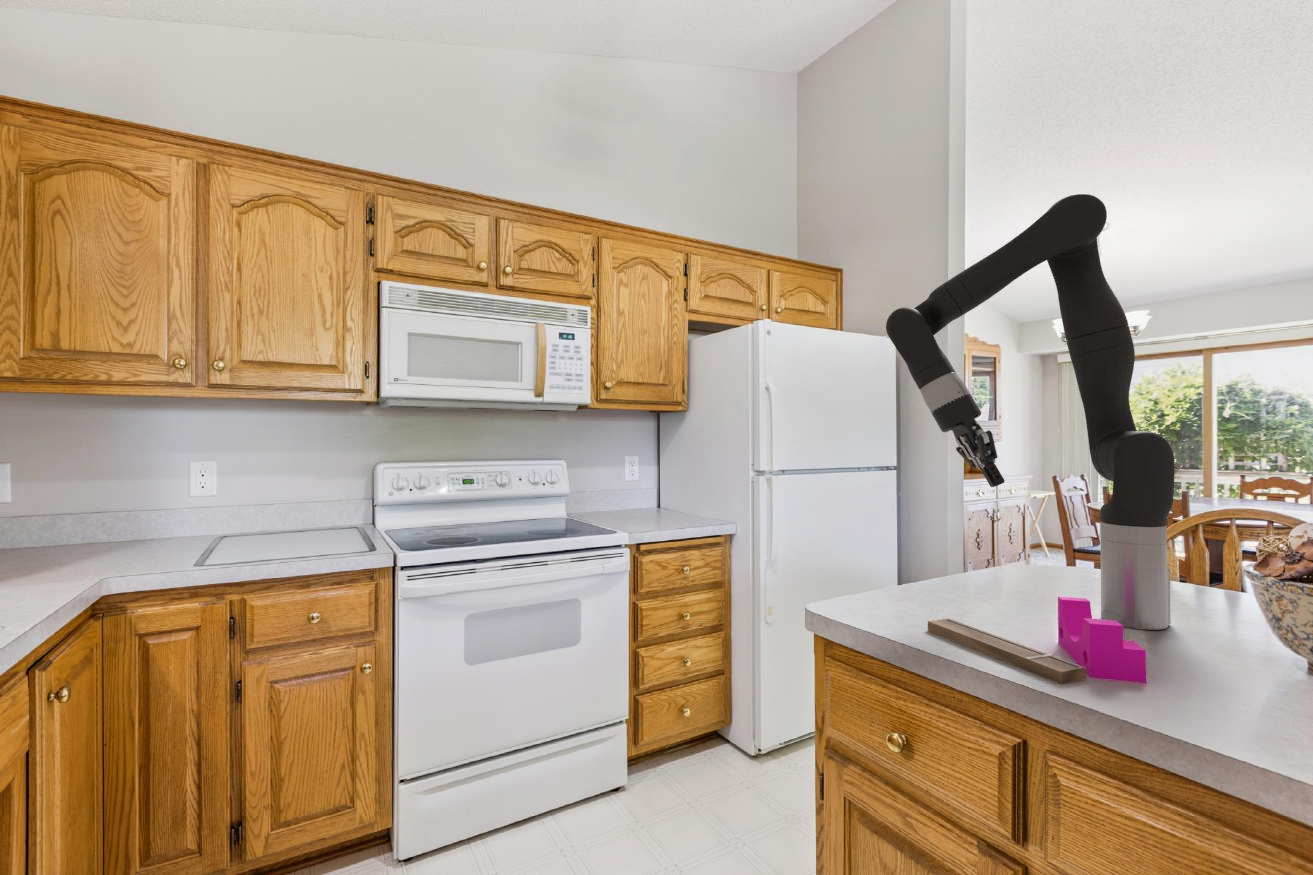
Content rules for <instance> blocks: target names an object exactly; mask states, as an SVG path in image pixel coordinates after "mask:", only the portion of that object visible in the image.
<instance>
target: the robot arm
mask: <svg viewBox="0 0 1313 875" xmlns="http://www.w3.org/2000/svg"><path fill="white" fill-rule="evenodd" d="M1107 211H1108V210H1107V207H1106V205H1105V203H1104V202H1103V201H1102V200H1101V199H1100V198H1099V197H1097V196H1096V195H1092V194H1089V193H1075V194H1070V195H1067V196H1065V197H1062V198H1061V199H1059V200H1057V201H1056V202H1055V203H1054V204H1052V205H1051V207H1049V209H1048V210H1047V211H1046V212H1045V213H1043V214H1042V215H1041V216H1040V217H1039V218H1037V220H1036V221H1035V222H1033V223H1032V224H1031V225H1030V226H1028V227H1027V228H1026V229H1025V230H1023V231H1022V232H1021V233H1019V234H1018V235H1017V236H1015V237H1014V238H1013V239H1011V240H1010V241H1008V242H1007V243H1005V244H1004V245H1003V246H1001V247H999V248H997V250H995V251H993V252H992V253H990V254H989V255H987V256H985V257H984V258H982V259H980V260H979V261H977V262H976V263H973V264H972V265H970V266H969V267H967V268H966V269H964V270H963V271H961V272H960V273H957V274H956V275H955V276H953V277H951V278H950V279H948V280H947V281H945V282H944V283H943V284H942V285H939V286H938V287H936V288H935V289H933V290H932V291H931V293H930V294H929V296H928V297H927V299H925V300H924V301H922V302H921V303H920V304H918V305H917V306H915V307H908V306H907V307H906V306H904V307H900V308H897V309H895V310H894V311H892V313H890V315H889V316H888V318H887V319H886V320H887V321H886V322H885V323H886V324H885V330H886V335H887V336H888V339H889V340H890V341H891V343H892V344H893V346H894V348H896V350H897V352H898V353H899V356H900V357H901V358H902V359H903V361H904V362H905V364H906V366H907V369H908V371H909V373H910V376H911V377H912V379H913V381H914V383H915V384H916V386H917V388H918V389H919V392H920V394H921V396H922V399H923V401H924V402H925V405H926V406H927V408H928V409H929V411H930V413H931V415H932V417H933V419H934V420H935V422H936V423H937V426H938V427H939V429H940V430H941V432H943V433H948V432H950V431H952V433H953V435H954V438H955V442H956V443H957V445H958V446H957V447H955V450H956V452H957V453H958V454H959V455H960V456H961V457H962V458H963V459H964V460H965V461H966V462H967V463H968V464H969V465H970V466H971V468H973V469H976V468H977V470H979V471H981V473H982V474H983V476H984V478H985V479H986V482H987V483H988V486H990V488H995V487H998V486H1001V485H1002V484H1004V483H1005V478H1004V477H1003V475H1002V474H1001V472H1000V470H999V468H998V466H997V465H996V460H997V459H998V453H997V450H996V449H997V448H996V444H995V441H994V436H993V433H992V431H991V430H990V429H989V430H986V431H984V429H983V427H982V426H981V425H980V424H979V423H978V421H977V420H976V419H978V418H979V417H980V416H981V415H982V411H981V409H980V408H979V406H978V405H977V402H976V400H975V399H974V397H973V396H972V394H971V393H970V392H971V391H969V389H968V388H967V386H966V384H965V382H964V381H963V380H962V378H961V377H960V376H959V375H958V373H957V372H956V370H955V369H954V367H953V365H952V364H951V362H950V360H949V359H948V357H947V355H946V354H945V353H944V352H943V350H942V349H941V348H940V346H939V345H938V342H937V340H936V338H935V335H936V334H938V333H939V332H940V331H941V330H942V329H944V328H945V327H946V326H948V324H950V323H951V322H954V320H957V319H959V318H960V317H962V316H964V315H965V314H967V313H968V312H970V311H972V310H974V309H976V308H977V307H978V306H980V305H982V304H983V303H985V302H986V301H987V300H990V299H991V298H992V297H994V296H995V295H996V294H998V293H1000V291H1002V290H1003V289H1005V288H1006V287H1007V286H1008V285H1010V284H1012V282H1014V281H1015V280H1017V279H1018V278H1020V277H1022V275H1024V274H1026V273H1027V272H1029V271H1031V270H1032V269H1033V268H1036V267H1037V266H1038V265H1040V264H1042V263H1043V262H1046V261H1047V264H1048V266H1049V269H1050V272H1051V275H1052V277H1053V279H1054V282H1055V287H1056V291H1057V296H1058V297H1057V298H1058V304H1059V311H1060V312H1059V313H1060V315H1061V316H1060V317H1061V321H1062V327H1063V332H1064V336H1065V337H1064V338H1065V341H1066V346H1067V349H1068V353H1069V357H1070V360H1071V364H1072V367H1073V370H1074V374H1075V378H1076V379H1075V380H1076V383H1077V387H1078V391H1079V396H1080V399H1081V402H1082V407H1083V410H1084V416H1085V421H1086V422H1085V423H1086V432H1087V440H1088V447H1089V454H1090V459H1091V463H1092V466H1093V468H1094V469H1095V470H1096V472H1097V473H1098V475H1100V476H1101V477H1102V478H1104V479H1105V480H1107V481H1109V482H1112V493H1111V498H1110V499H1109V500H1108V501H1107V502H1105V503H1104V504H1103V505H1102V506H1101V508H1100V510H1099V524H1100V525H1099V528H1100V530H1099V532H1100V533H1099V534H1100V538H1099V539H1100V540H1099V541H1100V542H1099V543H1100V548H1099V549H1100V619H1104V620H1116V621H1117V622H1118V623H1120V624H1121V625H1123V628H1124V627H1125V628H1131V629H1138V630H1149V631H1150V630H1152V631H1153V630H1164V629H1165V630H1166V629H1167V628H1168V627H1169V625H1171V621H1172V620H1171V617H1172V616H1171V570H1170V568H1168V516H1169V514H1170V512H1171V509H1172V507H1173V504H1174V491H1175V489H1174V488H1175V476H1176V475H1175V473H1176V472H1175V471H1176V469H1175V468H1176V465H1175V456H1174V451H1173V449H1172V447H1171V446H1172V445H1171V444H1170V443H1169V442H1168V440H1167V439H1166V438H1164V437H1163V436H1162V435H1160V434H1158V433H1155V432H1152V431H1146V430H1145V431H1144V430H1137V428H1136V425H1135V424H1136V423H1135V421H1134V418H1133V414H1132V410H1131V406H1130V389H1131V382H1132V380H1133V379H1132V378H1133V374H1134V373H1133V372H1134V370H1135V369H1134V367H1135V360H1136V358H1135V356H1136V352H1135V346H1134V342H1133V337H1132V333H1131V330H1130V325H1129V321H1128V319H1127V316H1126V313H1125V311H1124V308H1123V306H1122V304H1121V303H1120V301H1119V300H1118V297H1117V296H1116V294H1115V293H1114V291H1113V289H1112V288H1111V286H1110V285H1109V283H1108V281H1107V279H1106V277H1105V275H1104V271H1103V268H1102V264H1101V259H1100V257H1101V256H1100V251H1099V246H1098V237H1099V236H1100V235H1101V233H1102V232H1103V230H1104V228H1105V226H1106V223H1107V218H1108V217H1107V214H1108V212H1107Z"/></svg>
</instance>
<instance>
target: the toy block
mask: <svg viewBox="0 0 1313 875" xmlns="http://www.w3.org/2000/svg"><path fill="white" fill-rule="evenodd" d="M1057 624H1058V625H1057V637H1058V639H1057V640H1058V642H1057V643H1058V644H1059V645H1060V646H1061V648H1062V649H1063V650H1064V651H1065V652H1066V653H1067V654H1068V655H1069V656H1070V658H1072V660H1073V661H1074V662H1075V664H1077V665H1080V666H1083V667H1086V676H1088V677H1089V678H1091V679H1097V680H1099V679H1100V680H1109V681H1118V682H1128V683H1137V684H1138V683H1139V684H1147V650H1146V649H1145V648H1143V647H1142V646H1141V645H1140V644H1138V643H1137V642H1135V641H1134V640H1125V639H1124V626H1123V625H1121V624H1120V623H1118V622H1117V621H1116V620H1104V619H1102V618H1093V615H1092V609H1091V601H1090V600H1089V599H1087V598H1085V597H1070V596H1057Z"/></svg>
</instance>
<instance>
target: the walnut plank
mask: <svg viewBox="0 0 1313 875" xmlns="http://www.w3.org/2000/svg"><path fill="white" fill-rule="evenodd" d="M927 631H928V632H930V633H933V634H935V635H938V636H940V637H941V638H942V637H943V638H944V639H947V640H950V641H953V642H955V643H957V644H960V645H963V646H965V647H968V648H970V649H973V650H975V651H977V652H979V653H982V654H985V655H987V656H990V657H991V658H995V659H998V660H1000V661H1002V662H1005V663H1008V664H1010V665H1013V666H1014V667H1018V668H1020V669H1022V670H1025V671H1027V672H1030V673H1032V674H1035V675H1038V676H1040V677H1042V678H1045V679H1047V680H1050V681H1052V682H1055V683H1057V684H1060V685H1063V684H1069V683H1075V682H1081V681H1087V673H1086V667H1083V666H1080V665H1078V664H1077V663H1074V662H1071V661H1069V660H1066V659H1062V658H1060V657H1058V656H1055V655H1054V654H1051V653H1046V652H1043V651H1040V650H1038V649H1035V648H1032V647H1030V646H1026V645H1025V644H1021V643H1019V642H1016V641H1013V640H1010V639H1007V638H1005V637H1001V636H999V635H996V634H993V633H990V632H988V631H984V630H982V629H979V628H976V627H974V626H972V625H969V624H966V623H962V622H961V621H957V620H954V619H951V618H943V619H936V620H935V619H934V620H928V621H927Z"/></svg>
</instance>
